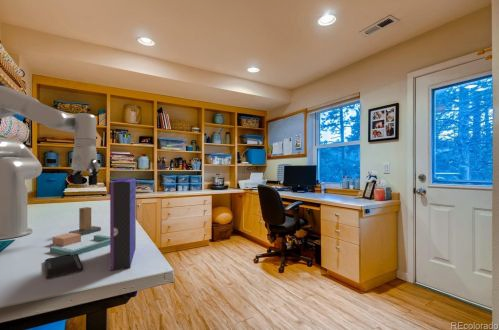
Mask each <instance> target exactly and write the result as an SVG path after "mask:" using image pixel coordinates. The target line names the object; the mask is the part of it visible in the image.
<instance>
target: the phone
mask: <svg viewBox="0 0 499 330" xmlns="http://www.w3.org/2000/svg"><path fill="white" fill-rule="evenodd" d="M83 270H84V266H83V264H82V261H81V258H80V256H79V255H78V254H76V253H75V254H74V255H59V256H54V257H49V258H46V259H45V260H44V273H45V274H44V275H45V279H46V280H51V279H52V280H53V279H57V278H61V277H65V276H69V275H73V274H78V273H81V272H82V271H83Z"/></svg>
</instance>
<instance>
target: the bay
mask: <svg viewBox="0 0 499 330" xmlns="http://www.w3.org/2000/svg"><path fill="white" fill-rule="evenodd" d="M93 240H95V241H98V242H96V243H93V244H89V245H85V246H82V247H79V248H74V249H70V248H65V247H63V246H58V245H53V246H51V247H49V253H51V254H52V253H53V254H56V255H59V256H64V255H74V254H75V253H76V254H78V256H79V255H82V254H84V253H89V252H91V251H95V250H97V249H100V248H103V247H107V246H110V235H108V236H107V235H102V234H95V235H93Z"/></svg>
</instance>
